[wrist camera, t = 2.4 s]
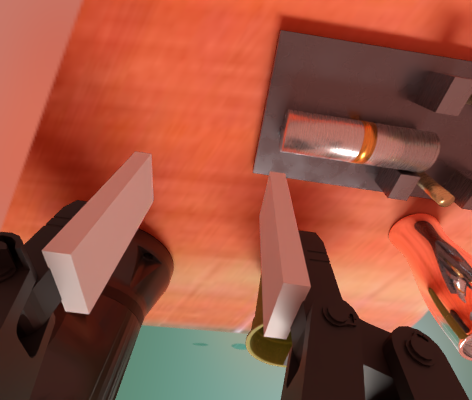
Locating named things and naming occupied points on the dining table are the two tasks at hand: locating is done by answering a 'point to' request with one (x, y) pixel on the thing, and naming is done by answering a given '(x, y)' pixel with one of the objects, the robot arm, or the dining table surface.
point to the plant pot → (266, 339)
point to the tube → (358, 141)
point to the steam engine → (372, 113)
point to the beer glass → (439, 275)
